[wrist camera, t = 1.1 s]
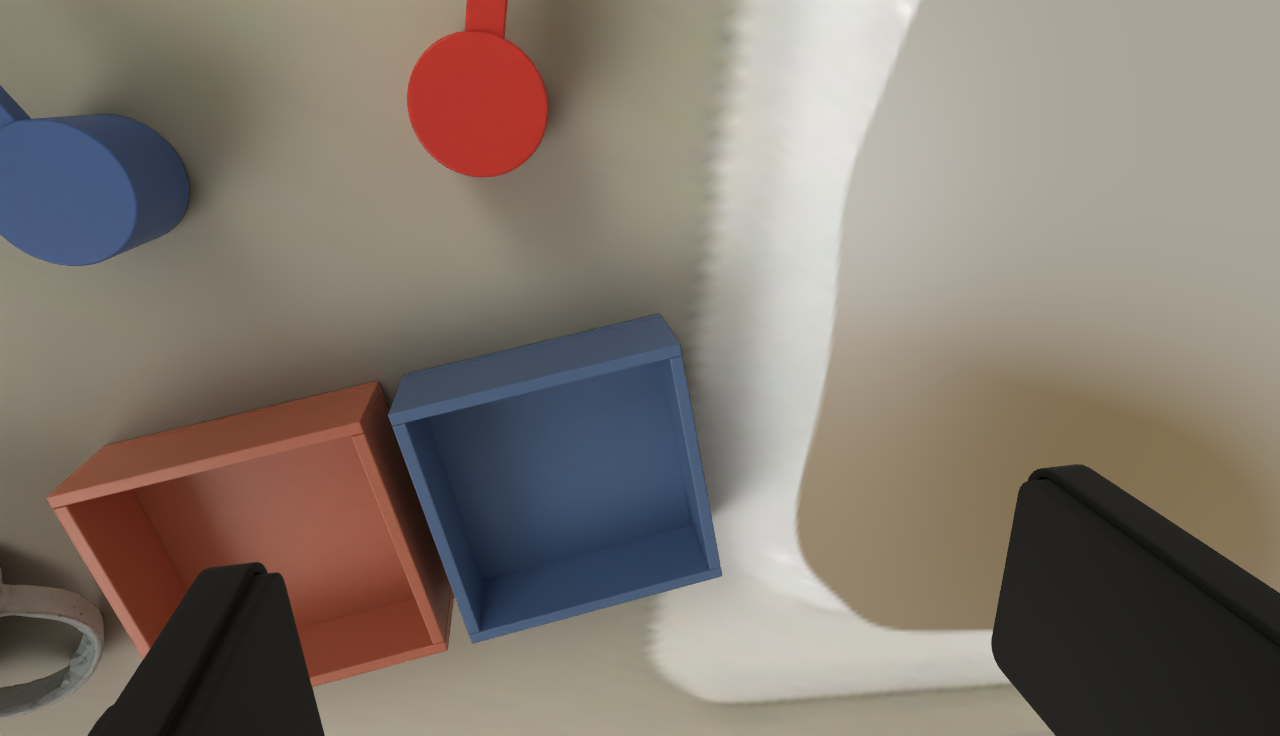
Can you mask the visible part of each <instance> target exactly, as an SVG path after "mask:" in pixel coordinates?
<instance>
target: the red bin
mask: <svg viewBox="0 0 1280 736" xmlns="http://www.w3.org/2000/svg"><path fill="white" fill-rule="evenodd" d="M388 413H389V409H388V406H387V403H386V400H385V398H384V395H383V392H382V390H381V387H380V384H379V382H378V381H374V382H370V383H366V384H361V385H357V386H353V387H349V388H345V389H340V390H336V391H332V392H328V393H324V394H319V395H315V396H311V397H307V398H303V399H299V400H294V401H290V402H286V403H282V404H278V405H273V406H269V407H265V408H261V409H257V410H252V411H248V412H244V413H240V414H236V415H231V416H227V417H223V418H219V419H215V420H210V421H206V422H202V423H198V424H194V425H189V426H185V427H181V428H177V429H173V430H168V431H164V432H160V433H156V434H152V435H147V436H143V437H139V438H135V439H131V440H126V441H122V442H118V443H114V444H110V445H105V446H104V447H102V448H101V449H100V450H99V451H98V452H97V453H96V454H94V455H93V456H92V457H91V458H90V459H89V460H88V461H87V462H85V463H84V464H83V465H82V466H81V467H80V468H79V469H77V470H76V471H75V472H74V473H73V474H72V475H71V476H70V477H68V478H67V479H66V480H65V481H64V482H63V483H62V484H60V485H59V486H58V487H57V488H56V489H55V490H54V491H53V492H51V493H50V494H49V495H48V496H47V497H46V499H47V501H48V503H49V504H50V506H51V508H54V509H53V511H54V513H55V514H56V516H57V518H58V519H59V521H60V523H61V524H62V526H63V528H64V529H65V531H66V532H67V534H68V536H69V537H70V539H71V541H72V542H73V544H74V546H75V547H76V549H77V551H78V552H79V554H80V556H81V557H82V559H83V561H84V562H85V564H86V566H87V567H88V569H89V570H90V572H91V574H92V575H93V577H94V579H95V580H96V582H97V584H98V585H99V587H100V589H101V590H102V592H103V594H104V595H105V597H106V599H107V600H108V602H109V604H110V605H111V607H112V608H113V610H114V612H115V613H116V615H117V617H118V618H119V620H120V622H121V623H122V625H123V627H124V628H125V630H126V632H127V633H128V635H129V637H130V638H131V640H132V642H133V643H134V645H135V646H136V648H137V650H138V651H139V653H140V655H141V656H142V658H143V659H144V658H145V656H146V655H147V653H148V651H149V650H150V648H151V647H152V645H153V644H154V642H155V641H156V639H157V638H158V636H159V635H160V633H161V631H162V630H163V628H164V627H165V625H166V624H167V622H168V621H169V619H170V618H171V616H172V614H173V613H174V611H175V610H176V608H177V607H178V605H179V604H180V602H181V601H182V599H183V597H184V596H185V594H186V593H187V591H188V590H189V588H190V587H191V585H192V584H193V582H194V581H195V579H196V577H197V576H198V575H199V574H200V572H201V571H202V570H203V569H206V568H210V567H218V566H226V565H235V564H243V563H252V562H260V563H262V564H263V565H264V567H265V568H266V570H267V572H268V573H275V572H278V573H280V574H281V575H282V577H283V579H284V581H285V584H286V588H287V592H288V596H289V600H290V604H291V608H292V612H293V615H294V619H295V623H296V627H297V631H298V635H299V639H300V642H301V646H302V650H303V654H304V658H305V662H306V666H307V670H308V673H309V677H310V681H311V685H312V687H314V686H317V685H321V684H325V683H329V682H332V681H336V680H340V679H343V678H347V677H351V676H354V675H358V674H362V673H366V672H369V671H373V670H377V669H380V668H384V667H388V666H391V665H395V664H399V663H403V662H406V661H410V660H414V659H417V658H421V657H425V656H428V655H432V654H436V653H440V652H443V651H447V650H448V644H449V635H450V626H451V617H452V608H453V600H454V593H453V591H452V588H451V585H450V582H449V580H448V577H447V574H446V572H445V569H444V566H443V563H442V561H441V558H440V555H439V553H438V550H437V547H436V544H435V542H434V539H433V536H432V533H431V531H430V528H429V525H428V523H427V520H426V517H425V514H424V512H423V509H422V506H421V503H420V501H419V498H418V495H417V493H416V490H415V487H414V484H413V482H412V479H411V476H410V474H409V471H408V468H407V465H406V463H405V460H404V457H403V454H402V452H401V449H400V446H399V444H398V441H397V438H396V435H395V433H394V430H393V426H392V425H391V422H390V419H389V416H388Z"/></svg>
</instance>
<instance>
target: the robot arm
mask: <svg viewBox="0 0 1280 736" xmlns="http://www.w3.org/2000/svg"><path fill="white" fill-rule="evenodd" d="M991 645H992V652H993V655H994V658H995V661H996V663H997V665H998V666H999V668H1000V669H1001V671H1002V672H1003V673H1004V674H1005V676H1006V677H1007V678H1008V679H1009V680H1010V682H1011V683H1012V684H1013V685H1014V686H1015V688H1016V689H1017V690H1018V691H1019V692H1020V694H1021V695H1022V696H1023V697H1024V698H1025V700H1026V701H1027V702H1028V703H1029V704H1030V706H1031V707H1032V708H1033V709H1034V710H1035V711H1036V713H1037V714H1038V715H1039V716H1040V717H1041V719H1042V720H1043V721H1044V722H1045V723H1046V725H1047V726H1048V727H1049V728H1050V729H1051V731H1052V732H1053V733H1054V734H1055V735H1056V736H1280V593H1279V592H1277V591H1276V590H1274V589H1273V588H1271V587H1269V586H1268V585H1266V584H1265V583H1263V582H1262V581H1260V580H1259V579H1257V578H1256V577H1254V576H1253V575H1251V574H1250V573H1248V572H1246V571H1245V570H1244V569H1242V568H1240V567H1239V566H1238V565H1236V564H1235V563H1233V562H1232V561H1230V560H1228V559H1227V558H1225V557H1224V556H1222V555H1221V554H1219V553H1218V552H1216V551H1215V550H1213V549H1212V548H1210V547H1209V546H1207V545H1206V544H1204V543H1203V542H1201V541H1200V540H1198V539H1197V538H1195V537H1194V536H1192V535H1191V534H1189V533H1188V532H1186V531H1184V530H1183V529H1182V528H1180V527H1178V526H1177V525H1175V524H1174V523H1172V522H1171V521H1169V520H1168V519H1166V518H1165V517H1163V516H1162V515H1160V514H1159V513H1157V512H1156V511H1154V510H1153V509H1151V508H1150V507H1148V506H1147V505H1145V504H1144V503H1142V502H1141V501H1139V500H1138V499H1136V498H1134V497H1133V496H1131V495H1130V494H1128V493H1127V492H1125V491H1124V490H1122V489H1120V488H1119V487H1118V486H1116V485H1115V484H1113V483H1111V482H1110V481H1109V480H1107V479H1105V478H1104V477H1102V476H1101V475H1100V474H1098V473H1097V472H1095V471H1093V470H1092V469H1090V468H1089V467H1086V466H1084V465H1067V466H1058V467H1050V468H1041V469H1038V470H1036V471H1034V472H1033V473H1032V474H1031V475H1030V477H1029V479H1028V481H1027V482H1025V483H1023V484H1022V486H1021V487H1020V490H1019V493H1018V498H1017V503H1016V509H1015V514H1014V520H1013V526H1012V531H1011V537H1010V542H1009V547H1008V552H1007V558H1006V564H1005V569H1004V574H1003V580H1002V585H1001V591H1000V596H999V602H998V607H997V613H996V618H995V624H994V629H993V634H992V643H991ZM88 736H325V735H324V731H323V728H322V724H321V720H320V716H319V712H318V708H317V704H316V700H315V697H314V693H313V689H312V685H311V681H310V677H309V673H308V670H307V666H306V662H305V658H304V654H303V650H302V646H301V642H300V639H299V635H298V631H297V627H296V623H295V619H294V615H293V612H292V608H291V604H290V600H289V596H288V592H287V588H286V584H285V581H284V579H283V577H282V575H281V574H280V573H278V572H275V573H268V572H267V570H266V568H265V567H264V565H263V564H262V563H260V562H252V563H243V564H235V565H226V566H218V567H210V568H206V569H203V570H202V571H201V572H200V574H199V575H198V576H197V577H196V579H195V581H194V582H193V584H192V585H191V587H190V588H189V590H188V591H187V593H186V594H185V596H184V597H183V599H182V601H181V602H180V604H179V605H178V607H177V608H176V610H175V611H174V613H173V614H172V616H171V618H170V619H169V621H168V622H167V624H166V625H165V627H164V628H163V630H162V631H161V633H160V635H159V636H158V638H157V639H156V641H155V642H154V644H153V645H152V647H151V648H150V650H149V651H148V653H147V655H146V656H145V658H144V659H143V661H142V662H141V664H140V665H139V667H138V668H137V670H136V672H135V673H134V675H133V676H132V678H131V679H130V681H129V682H128V684H127V685H126V687H125V689H124V690H123V692H122V693H121V695H120V696H119V698H118V699H117V701H116V702H115V704H114V705H113V706H111V707H109V708H108V709H107V710H106V711H105V712H104V714H103V715H102V716H101V717H100V718H99V720H98V721H97V722H96V724H95V725H94V727H93V728H92V730H91V731H90V733H89V734H88Z"/></svg>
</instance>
